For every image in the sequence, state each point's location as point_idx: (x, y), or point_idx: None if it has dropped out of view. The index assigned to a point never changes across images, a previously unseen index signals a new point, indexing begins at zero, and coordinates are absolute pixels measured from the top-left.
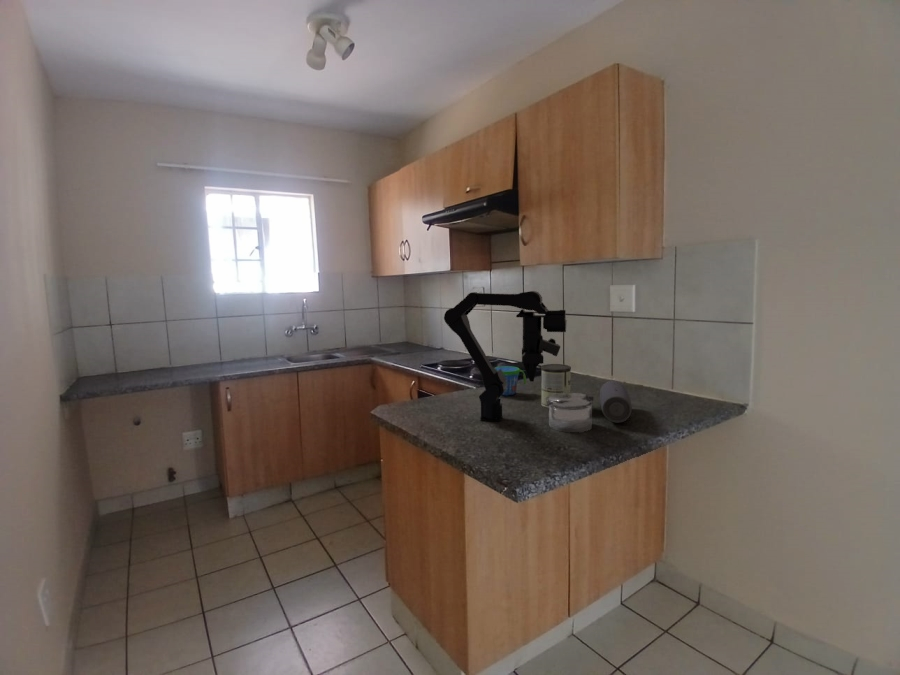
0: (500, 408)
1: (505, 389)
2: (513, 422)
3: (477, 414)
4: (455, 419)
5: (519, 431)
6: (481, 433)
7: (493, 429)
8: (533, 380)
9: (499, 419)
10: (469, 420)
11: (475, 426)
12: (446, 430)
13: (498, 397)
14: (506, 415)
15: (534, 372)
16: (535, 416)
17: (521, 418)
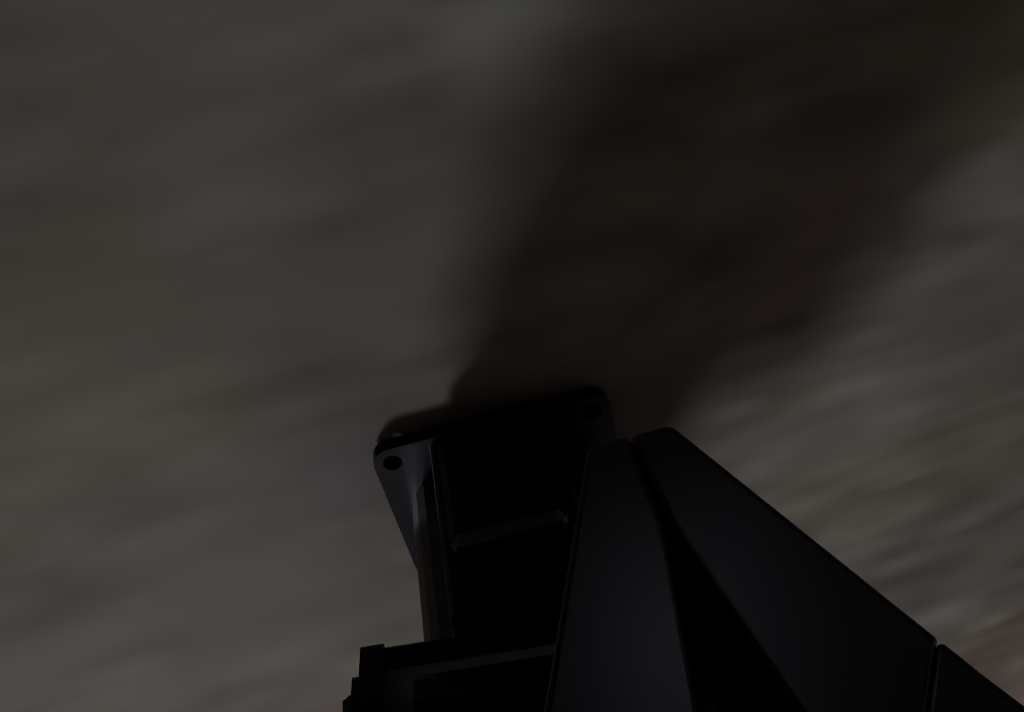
0: (565, 496)
1: (533, 692)
2: (586, 247)
3: (421, 622)
4: None
5: (925, 87)
6: (999, 407)
7: (875, 356)
8: (687, 443)
9: (585, 405)
10: None
11: (801, 512)
12: (928, 631)
13: (481, 644)
14: (329, 396)
15: (923, 650)
16: (183, 38)
17: (379, 204)
